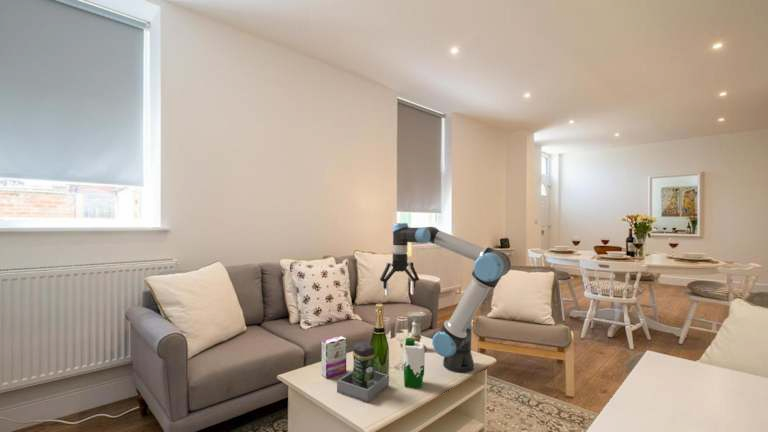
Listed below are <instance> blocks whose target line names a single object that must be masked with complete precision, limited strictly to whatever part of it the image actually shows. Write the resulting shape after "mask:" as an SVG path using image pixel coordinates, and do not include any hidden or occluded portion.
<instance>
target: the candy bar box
mask: <svg viewBox="0 0 768 432" xmlns="http://www.w3.org/2000/svg"><path fill="white" fill-rule="evenodd" d="M346 373H347V338H346V337H344V336H343V335H339V336H335V337H331V338H328V339H322V340H321V376H322V377H323V378H325V379H330V378H332V377H333V378H334V377H336V376H340V375H342V374H346Z"/></svg>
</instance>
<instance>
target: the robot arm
mask: <svg viewBox="0 0 768 432" xmlns="http://www.w3.org/2000/svg"><path fill="white" fill-rule="evenodd" d="M408 243H415V244H428V243H431V244H432V245H436V246H438V247H441V248H443V249H446V250H448V251H450V252H452V253H454V254H458V255H460V256H462V257H465V258H468V259H469V260H472V261H474V265H473V270H472V272H471V278H472V279H471V281H470V283H469V285H468V287H467V288H466V290H465V291H464V293H463V295H462V297H461V299H460V300H459V302H458V304H457V305H456V307H455V309H454V311H453V313H452V315H451V317H450V318H449V319H448V320H445V321H444V322H443V323H442V325H441V327H440V329H439V331H437V332H436V333H435V334H434V335H433V337H432V341H431V342H432V346H433V350H434V351H435V352H436V353H437V354H438V355H440V356H441V357H442V358H443V364H442V365H443V367H444V368H445V369H446V370H449V371H451V372H455V373H471V372H472V371H474V369H475V361H474V358H473V355H472V352H471V351H472V331H473V328H472V323H471V322H472V320H473V319H474V317H475V315H476V313H477V312H478V310H479V309H480V307H481V305H482V303H483V302H484V300H485V298H486V297H487V295H488V293H489V292H490V290H491V289H495V288H496V287H497V286H498V283H499V282H500V280H501V278H502V277H504V276H505V275H507V274H508V273H509V272H510V270H511V266H512V262H511V259H510V257H509V256H508V254H506V253H505V252H503V251H501V250H498V249H494V248H492V247H489V246H488V247H483V246H481V245H477V244H476V243H474V242H473V243H472V242H469V241H467V240H465V239H462V238H460V237H457V236H455V235H452V234H450V233H447V232H444V231H441V230H439V229H438V228H437V227H435V226H426V227H425V226H424V227H410V226H409V224H408V223H405V222H395V223H394V224H393V227H392V262H386V265H385V268H384V269H383V272H382V274H381V276H380V278H379V280H380V282H382V283H383V289H384V295H385V296H386V297H387V296H389V282H388V281H389V280H390V279H391V278H392V276H393V275H394V274H395V273H396V272H397V273H398V272H403V273H404V272H405V273H406V275H407V276H408V277H409V278H410V279H411V280H410V294H411V296H413V295H414V293H415V291H414V290H415V289H414V288H416V282H417V281H419V280H420V278H419V275H418V274H417V271H416V270H415V269H416V268H415V267H414V263H413V261H412V262H411V261H409V262H408V254H407V253H408V245H409V244H408ZM391 267H392V269H391V270H390V268H391ZM408 267H409V268H410V270H411V272H412V273H411V272H410V271H409V270H408V269H407V268H408ZM389 270H390V271H389ZM388 271H389V272H388ZM412 274H413V275H412Z"/></svg>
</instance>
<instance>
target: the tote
mask: <svg viewBox="0 0 768 432" xmlns="http://www.w3.org/2000/svg"><path fill="white" fill-rule="evenodd" d="M352 378H353V370H352V371H350V372H349V373H347V374H345V375H343V376H342V377H340V378H339V379H338V380H336V393H338V394H341V395H344V396H347V397H350V398H353V399H355V400H358V401H361V402H363V403H366V404H368V403H370V402H371V401H372V400H373V399H374V398H376V397H377V396H379V394H381V393H383V391H385V390H387V388H389V385H390V382H389V381H390V376H389V374H385V373H382V372H380V371H376V372H374V385H372V386H371V387H370V388H368V389H365V388H362V387H359V386H356V385H353V384H352Z"/></svg>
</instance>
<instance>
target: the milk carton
mask: <svg viewBox="0 0 768 432" xmlns="http://www.w3.org/2000/svg"><path fill="white" fill-rule="evenodd" d="M424 345H425V342H422V341H420V342H415V340H414V339H413V338H411V337H406V338H405V343H404V351H403V353H404V354H403V355H404V356H403V381H404V388H412V389H419V390H420V389H422V384H423V380H424V376H425V363H426V362H425V360H426V359H425V356H426V355H425V352H426V351H424Z"/></svg>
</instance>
